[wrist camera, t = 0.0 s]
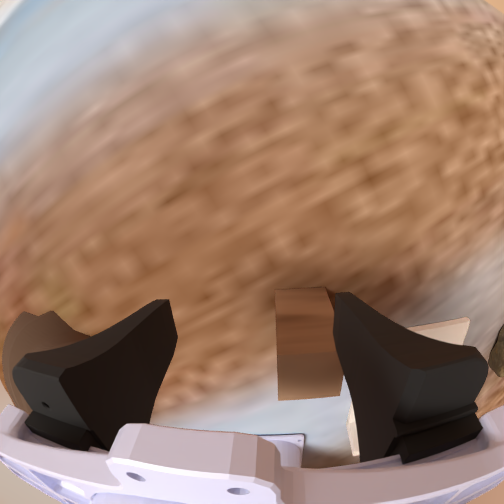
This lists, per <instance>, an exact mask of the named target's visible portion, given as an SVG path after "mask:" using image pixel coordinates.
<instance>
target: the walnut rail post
mask: <svg viewBox="0 0 504 504" xmlns="http://www.w3.org/2000/svg"><path fill="white" fill-rule="evenodd" d="M275 306H276V337H277V372H278V401H280V400H299V399H312V398H323V397H333V396H340V392H341V386H342V381H343V375H344V373H343V370H342V367H341V364H340V361H339V358H338V355H337V352H336V347H335V342H334V337H333V323H334V310H333V308H332V305H331V302H330V299H329V297H328V294H327V291H326V289H325V287H315V288H298V289H279V290H275Z"/></svg>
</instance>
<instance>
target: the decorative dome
mask: <svg viewBox="0 0 504 504" xmlns="http://www.w3.org/2000/svg"><path fill="white" fill-rule="evenodd" d="M89 337H90V336H88V335H85V334H83V333H80V332H77V331H75V330H73V329H72V328H71V327H70V326H69V325H68V324H67V323H66V322H64V321H63V320H62V319H61V318H60V317H59V316H58V315H57V314H56V313H55V312H54V311H50V312H47V313H45V314H43V315H40V316H36V315H33V314H30V313H27V312H25V311H24V312H22V313H21V314H20V315H19V317H18V318H17V319H16V320H15V321H14V323H13V324H12V326H11V327H10V329H9V331H8V333H7V336H6V338H5V342H4V346H3V355H2V364H3V373H4V379H5V383H6V386H7V389H8V392H9V394H10V396H11V398H12V400H13V402H14V404H15V405H16V407H17V408H19V409H21V410H23V411H25V412H26V413H27V414H28V415H30V413H31V412H32V411H33V410H32V409H31V408H30V406H29V405H28V403H27V402H26V400H25V399H24V397H23V396H22V394H21V393H20V391H19V390H18V388H17V386H16V385H15V383H14V380H13V377H12V370H13V367H14V366H15V365H16V364H17V363H18V362H19V361H20V360H21V359H22V358H23V356H24V355H25V354H27V353H33V352H40V351H46V350H51V349H56V348H60V347H63V346H67V345H70V344H73V343H76V342H79V341H81V340H84V339H87V338H89Z"/></svg>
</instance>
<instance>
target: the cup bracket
mask: <svg viewBox="0 0 504 504" xmlns="http://www.w3.org/2000/svg"><path fill="white" fill-rule="evenodd" d="M469 324H470V320H469V319H468V318H467V317H464V318H459V319H454V320H449V321H444V322H438V323H433V324H427V325H421V326H415V327H408V328H407V329H409V330H411V331H413V332H416V333H418V334H421V335H424V336H426V337H429V338H432V339H436V340H439V341H443V342H447V343H452V344H457V345H463V342H464V339H465V336H466V333H467V330H468V327H469ZM346 427H347V430H348V435H349V440H350V444H351V449H352V454H353V456H357V455H360V454H359V445H358V436H357V428H356V422H355V415H354V410H353V404H352V402H351V406H350V410H349V414H348V418H347V422H346Z"/></svg>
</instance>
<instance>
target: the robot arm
mask: <svg viewBox="0 0 504 504" xmlns="http://www.w3.org/2000/svg"><path fill="white" fill-rule="evenodd" d="M333 337H334V342H335V347H336V352H337V355H338V358H339V361H340V364H341V367H342V370H343V373H344V376H345V379H346V382H347V385H348V388H349V391H350V395H351V399H352V404H353V410H354V415H355V422H356V428H357V436H358V445H359V454H360V463H356V464H350V465H344V466H337V467H329V468H320V469H313V468H301V462H302V454H303V445H304V435H302V434H297V435H277V436H257V435H252V434H245V433H239V432H223V431H206V430H193V429H183V428H174V427H166V426H159V425H152V424H149V423H150V418H151V414H152V410H153V406H154V403H155V399H156V396H157V393H158V391H159V388H160V386H161V383H162V381H163V379H164V376H165V374H166V372H167V369H168V367H169V365H170V362H171V360H172V357H173V355H174V351H175V347H176V343H177V339H178V335H177V331H176V327H175V323H174V319H173V315H172V310H171V306H170V302H169V299H163V300H155V301H152V302H151V303H149V304H147V305H146V306H144V307H142V308H141V309H139V310H138V311H136V312H135V313H133V314H132V315H130V316H128V317H127V318H125V319H124V320H122V321H120V322H118V323H117V324H115V325H113V326H112V327H110V328H108V329H106V330H104V331H102V332H100V333H98V334H96V335H94V336H92V337H89V338H87V339H84V340H81V341H79V342H76V343H73V344H70V345H67V346H63V347H60V348H56V349H51V350H46V351H40V352H33V353H27V354H25V355H24V356H23V358H22V359H21V360H20V361H19V362H18V363H17V364H16V365H15V366H14V367H13V370H12V377H13V380H14V383H15V385H16V386H17V388H18V390H19V391H20V393H21V394H22V396H23V397H24V399H25V400H26V402H27V403H28V405H29V406H30V408H31V409H32V410H33V411H32V412H31V413H30V415H28V414H27V413H26V412H25V411H23V410H21V409H19V408H17V407H15V406H13V405H10V404H8V405H7V406H6V408H5V409H4V410H3V411H2V413H1V414H0V461H1V462H2V463H3V464H4V465H5V466H6V467H8V468H9V469H10V470H11V471H12V472H13V473H14V474H15V475H16V476H18V477H19V478H21V479H22V480H24V481H25V482H27V483H29V484H30V485H32V486H34V487H35V488H37V489H39V490H40V491H42V492H44V493H45V494H47V495H49V496H51V497H52V498H54V499H56V500H57V501H59V502H61V503H63V504H466V503H468V502H469V501H471V500H473V499H475V498H477V497H479V496H480V495H482V494H484V493H486V492H488V491H489V490H491V489H493V488H494V487H496V486H497V485H498V484H500V483H501V482H502V481H503V480H504V405H502V406H500V407H498V408H496V409H494V410H492V411H489V412H487V413H486V414H484V415H483V416H481V417H480V418H479V419H478V418H477V416H476V414H475V412H477V410H478V407H477V405H476V403H475V402H474V401H475V399H476V397H477V396H478V394H479V392H480V390H481V388H482V386H483V384H484V382H485V380H486V377H487V375H488V368H489V367H488V363H487V361H486V360H485V359H484V357H483V356H482V355H481V353H480V352H479V351H478V350H477V348H476V347H471V346H464V345H457V344H452V343H447V342H443V341H439V340H436V339H432V338H429V337H426V336H424V335H421V334H418V333H416V332H413V331H411V330H409V329H407V328H405V327H403V326H400V325H398V324H397V323H395V322H393V321H391V320H390V319H388V318H386V317H385V316H383V315H382V314H380V313H378V312H377V311H376V310H374V309H373V308H371V307H370V306H368V305H367V304H366V303H364V302H363V301H362V300H360V299H359V298H357V297H356V296H355V295H353V294H352V293H350V292H344V293H336V295H335V310H334V323H333Z"/></svg>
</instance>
